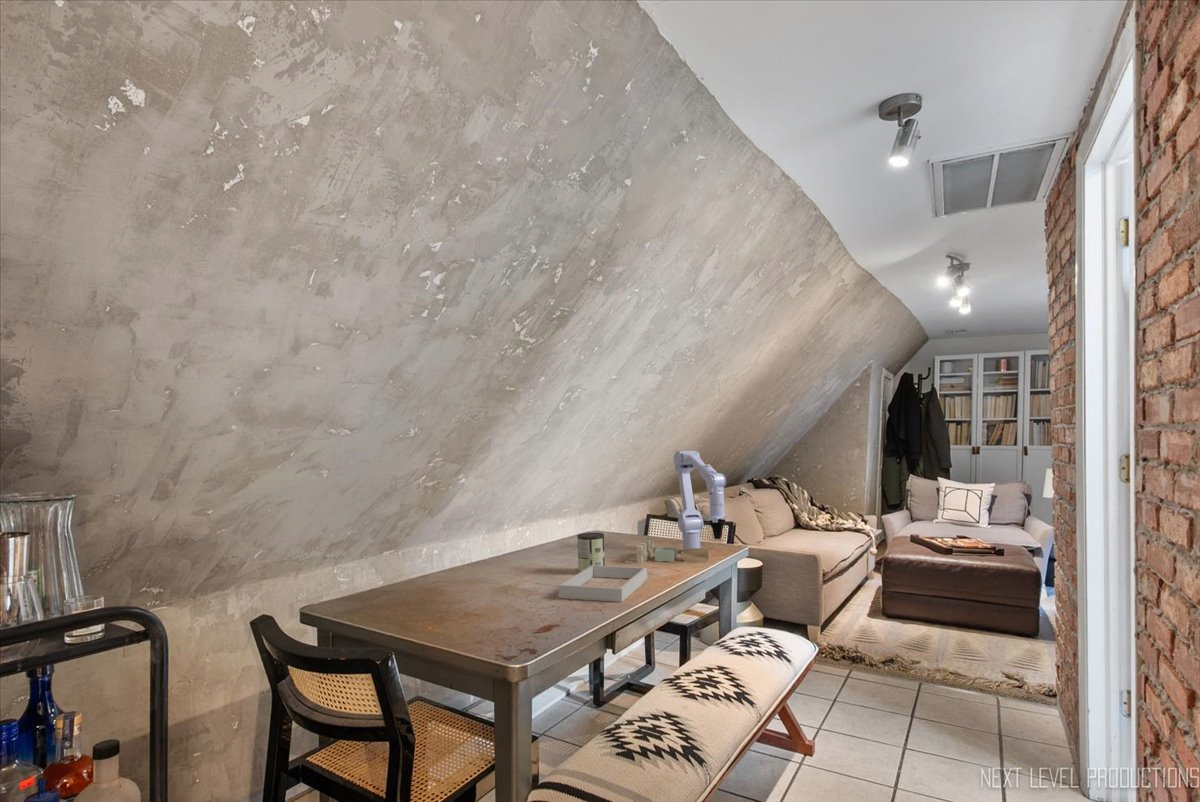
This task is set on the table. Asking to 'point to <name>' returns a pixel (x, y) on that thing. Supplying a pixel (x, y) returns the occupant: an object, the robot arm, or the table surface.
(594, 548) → the coffee can
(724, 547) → the table surface
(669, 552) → the block
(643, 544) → the wall
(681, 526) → the robot arm
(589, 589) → the gray rectangular frame
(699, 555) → the peg
